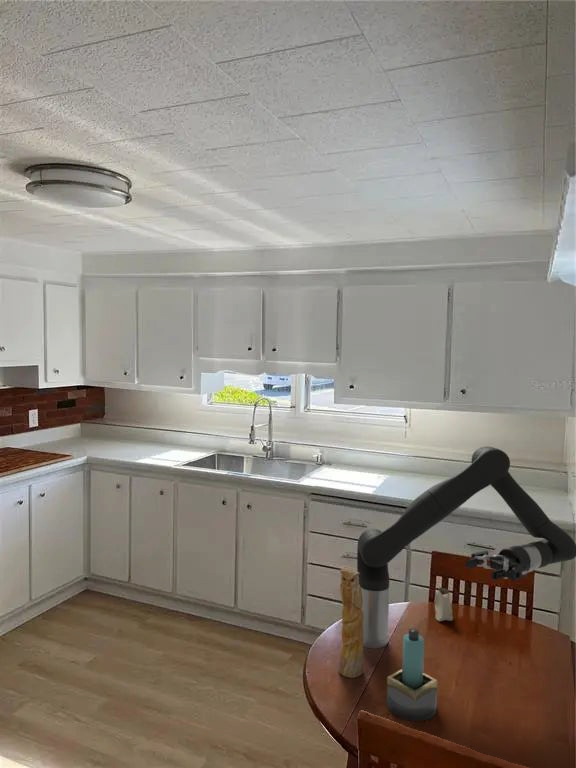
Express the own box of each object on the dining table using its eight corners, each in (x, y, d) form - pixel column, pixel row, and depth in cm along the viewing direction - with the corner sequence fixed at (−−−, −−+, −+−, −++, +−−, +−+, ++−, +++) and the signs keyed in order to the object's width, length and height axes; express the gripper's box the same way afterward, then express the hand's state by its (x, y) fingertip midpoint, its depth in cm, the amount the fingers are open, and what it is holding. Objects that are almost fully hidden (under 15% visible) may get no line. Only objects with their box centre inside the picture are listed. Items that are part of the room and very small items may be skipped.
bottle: (397, 684, 143) (399, 629, 142) (410, 677, 146) (412, 623, 145) (413, 694, 139) (415, 637, 138) (426, 686, 142) (428, 631, 141)
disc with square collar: (376, 702, 144) (377, 676, 143) (407, 684, 151) (407, 659, 151) (416, 727, 135) (416, 699, 134) (446, 707, 142) (447, 680, 142)
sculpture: (333, 681, 152) (336, 570, 150) (341, 663, 161) (344, 558, 159) (358, 686, 150) (361, 574, 148) (365, 667, 159) (368, 561, 157)
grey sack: (453, 628, 186) (466, 601, 185) (433, 622, 185) (446, 594, 184) (441, 612, 195) (454, 586, 194) (422, 606, 193) (435, 580, 192)
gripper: (499, 538, 166) (459, 547, 158) (543, 554, 154) (502, 565, 146) (498, 563, 167) (458, 574, 158) (542, 581, 154) (500, 594, 146)
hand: (479, 570), depth 152 cm, fingers open, 8 cm apart
